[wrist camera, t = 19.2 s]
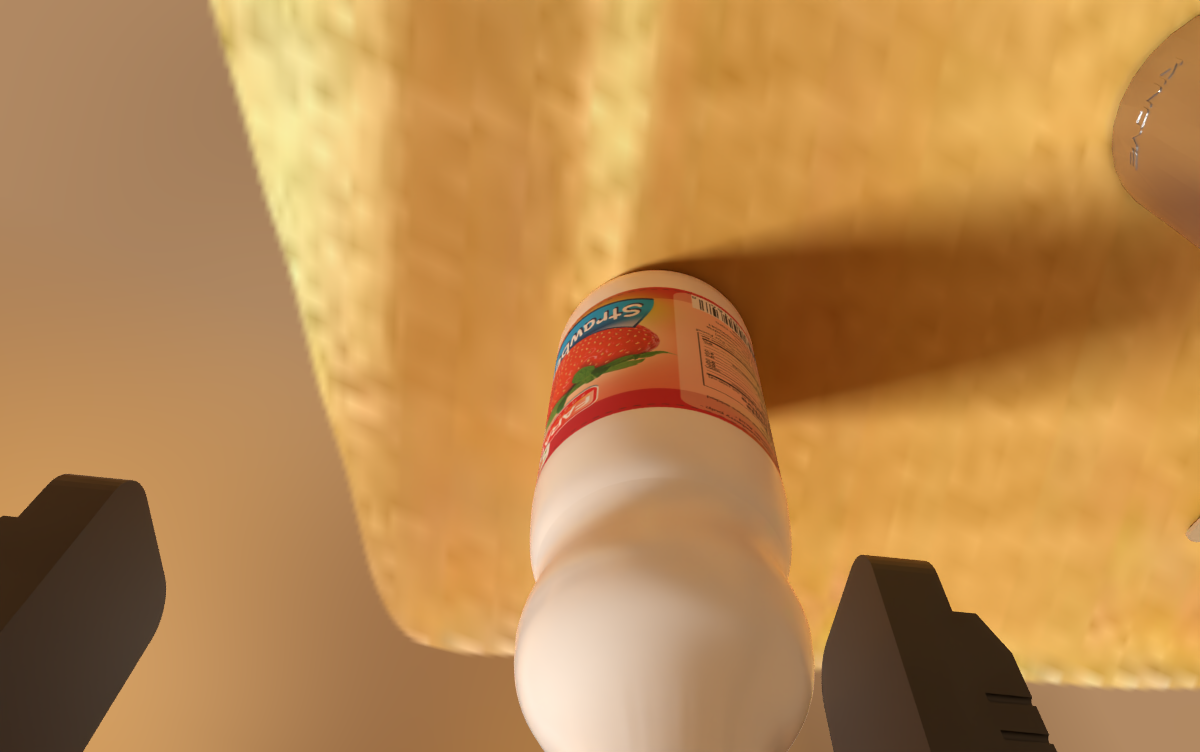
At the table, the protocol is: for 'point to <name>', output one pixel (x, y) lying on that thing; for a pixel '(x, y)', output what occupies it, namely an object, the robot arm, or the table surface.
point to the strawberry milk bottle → (660, 537)
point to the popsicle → (1194, 532)
